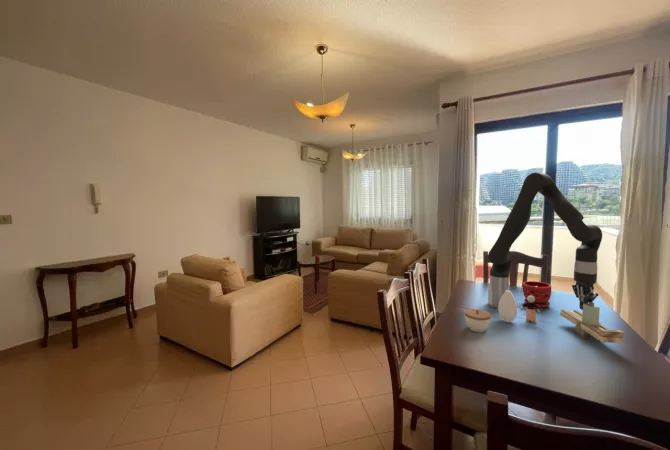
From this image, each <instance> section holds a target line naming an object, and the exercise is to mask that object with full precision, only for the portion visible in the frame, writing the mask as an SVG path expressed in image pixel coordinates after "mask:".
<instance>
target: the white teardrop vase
mask: <svg viewBox="0 0 670 450" xmlns="http://www.w3.org/2000/svg"><path fill="white" fill-rule="evenodd" d="M497 310H498V314H499V317H500V318H501V320H503V321H504V322H505V323H512V322H513V321H514V320H516V318H517V315H518V305H517V301H516V299H515V297H514V295H513V293H512V291H511V290H510V285H509V286H508V290H506V291H505V293H504V294H503V295H502V297H501V299H500V301H499V306H498V308H497Z"/></svg>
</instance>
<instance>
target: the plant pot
mask: <svg viewBox="0 0 670 450" xmlns="http://www.w3.org/2000/svg"><path fill="white" fill-rule="evenodd" d="M522 292H523V296H524V303H529V302H528V300H527V297H528V296H534V298H535V301H534V302H533V303H534V304H536V305H537V306H538V308H548V307H549V306H550V305H551V303H550V298H551V296H552V285H551V284H550V283H547V282H541V281H534V280H533V281H531V280H530V281H523V282H522Z"/></svg>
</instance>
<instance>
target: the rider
mask: <svg viewBox="0 0 670 450" xmlns="http://www.w3.org/2000/svg"><path fill="white" fill-rule="evenodd" d="M600 308H601V307H600V306H598V305H596V304H595V302H594V301H593V302H588V304H583V310H582V321H583V322H585V323H586V324H588V325H590V326H599V321H600Z"/></svg>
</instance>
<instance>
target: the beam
mask: <svg viewBox="0 0 670 450" xmlns="http://www.w3.org/2000/svg"><path fill="white" fill-rule="evenodd" d="M582 314H583V312H580V311H578V310H577V309H573V311H572V310H565V309H560V313H559V315H560V316H561V317H563V318H564V319H566V320H567V321H569V322H570V323H572V324H573V325H574V326H575V330H574V331H575V334H576V335H577V336H578V337H580V338H581V339H583V340H598V341H600V342H601V343H614V344H624V338H625V336H624V334H625V332H624V331H622V330H620V329H609V327H606V326H605V325H603V324H601V322H599V326H590V325H588V324H586V323H585V322H583V321H582Z"/></svg>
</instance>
